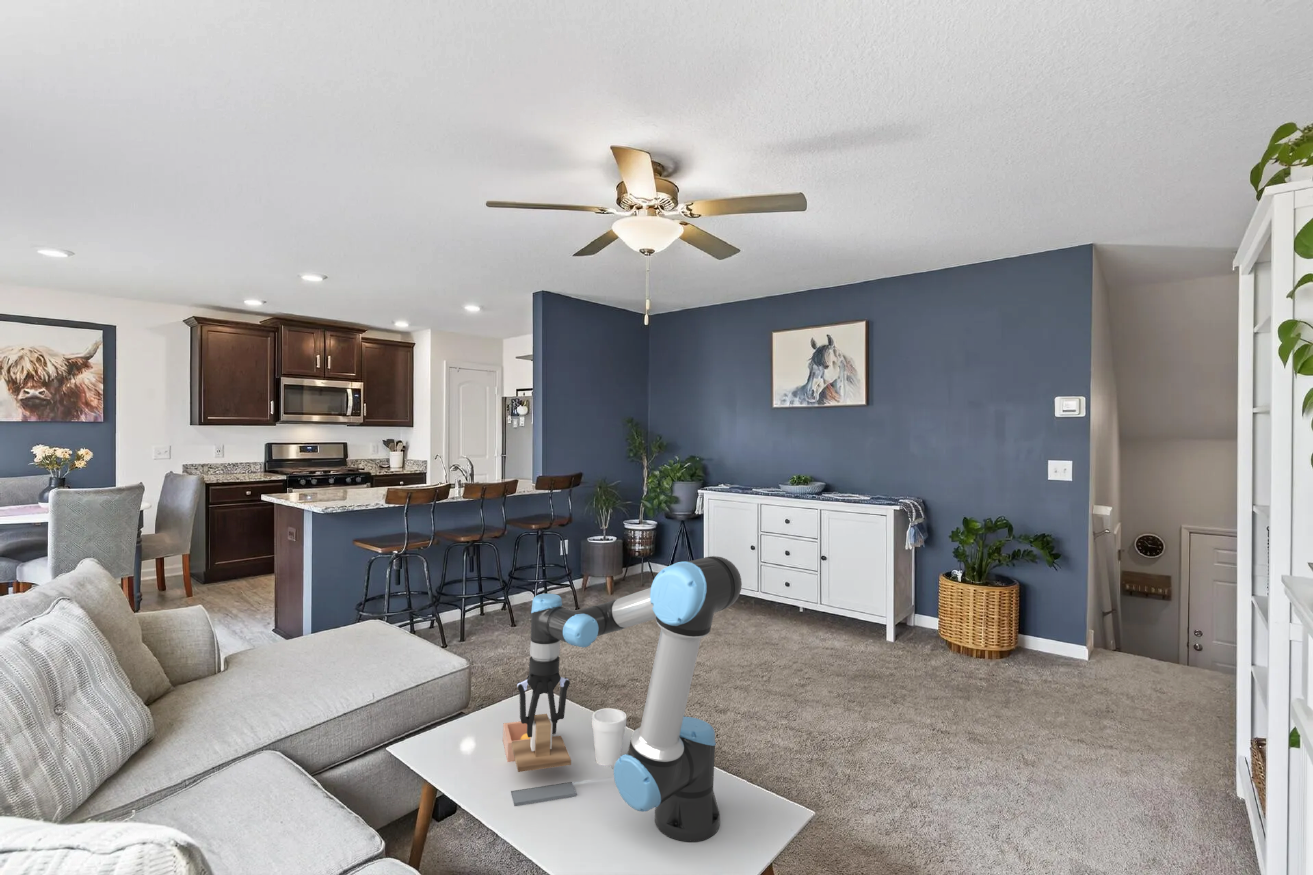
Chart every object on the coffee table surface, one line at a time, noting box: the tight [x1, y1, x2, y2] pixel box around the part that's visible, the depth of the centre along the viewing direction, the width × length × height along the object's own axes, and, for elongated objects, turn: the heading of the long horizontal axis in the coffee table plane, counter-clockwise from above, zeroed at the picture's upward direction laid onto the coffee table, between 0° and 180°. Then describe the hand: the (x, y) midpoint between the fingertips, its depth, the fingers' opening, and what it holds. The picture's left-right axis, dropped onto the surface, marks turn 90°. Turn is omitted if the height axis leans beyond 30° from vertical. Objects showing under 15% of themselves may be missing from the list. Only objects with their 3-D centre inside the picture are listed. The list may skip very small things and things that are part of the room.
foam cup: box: [591, 707, 628, 770], centre depth 172 cm, size 10×9×13 cm
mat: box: [510, 781, 577, 807], centre depth 161 cm, size 17×15×1 cm
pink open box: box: [502, 720, 554, 763], centre depth 176 cm, size 12×12×6 cm
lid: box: [512, 713, 572, 773], centre depth 161 cm, size 13×13×9 cm
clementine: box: [520, 733, 531, 740], centre depth 176 cm, size 4×4×4 cm
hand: (540, 747), depth 161 cm, fingers closed on lid, 3 cm apart
